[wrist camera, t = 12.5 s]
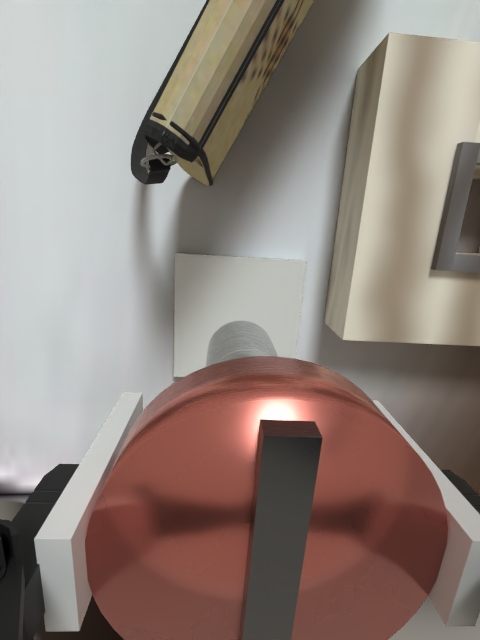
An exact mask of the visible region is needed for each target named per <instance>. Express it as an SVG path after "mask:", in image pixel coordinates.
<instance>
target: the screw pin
mask: <svg viewBox="0 0 480 640" xmlns="http://www.w3.org/2000/svg"><path fill="white" fill-rule="evenodd" d="M447 536H448V523H447V514H446V507H445V504H444V500H443V497H442V493H441V490H440V488H439V486H438V484H437V482H436V480H435V478H434V476H433V474H432V472H431V471H430V469H429V468H428V467H427V465H426V464H425V462H424V461H423V460H422V458H421V457H420V456H419V454H418V453H417V452H416V451H415V450H414V449H413V448H412V446H411V445H410V444H409V443H408V442H407V441H406V439H405V438H404V437H403V436H402V435H401V434H400V432H399V431H398V430H397V429H396V428H395V427H394V425H393V424H392V423H391V422H390V421H389V420H388V419H387V417H386V416H385V415H384V414H383V413H382V412H381V410H380V409H379V408H378V407H377V406H376V405H375V403H374V402H373V401H372V400H371V399H370V398H369V397H368V396H367V395H366V394H365V393H364V392H363V391H362V390H361V389H360V388H358V387H357V386H356V385H354V384H353V383H352V382H350V381H349V380H348V379H346V378H344V377H342V376H341V375H339V374H337V373H335V372H333V371H332V370H329V369H327V368H324V367H322V366H319V365H316V364H314V363H311V362H306V361H302V360H298V359H294V358H286V357H278V355H277V353H276V350H275V348H274V346H273V343H272V341H271V339H270V337H269V335H268V334H267V332H266V331H265V330H264V329H263V328H262V327H260V326H259V325H257V324H255V323H252V322H249V321H233V322H230V323H227V324H225V325H223V326H222V327H220V328H219V329H218V330H217V331H216V332H215V333H214V334H213V336H212V337H211V339H210V341H209V345H208V350H207V358H206V366H205V368H202V369H200V370H197V371H195V372H192V373H191V374H189V375H187V376H185V377H183V378H182V379H180V380H178V381H176V382H175V383H173V384H172V385H171V386H169V387H168V388H167V389H165V390H164V391H163V392H161V393H160V394H159V395H158V396H157V397H156V398H155V399H154V400H153V401H152V402H151V403H150V404H149V405H148V406H146V408H145V409H144V410H143V412H142V413H141V414H140V415H139V417H138V418H137V419H136V421H135V422H134V424H133V426H132V428H131V429H130V431H129V433H128V435H127V436H126V439H125V441H124V443H123V445H122V447H121V450H120V452H119V454H118V456H117V458H116V460H115V463H114V465H113V467H112V469H111V471H110V473H109V476H108V478H107V480H106V482H105V484H104V486H103V489H102V491H101V493H100V495H99V497H98V499H97V502H96V504H95V507H94V509H93V512H92V515H91V517H90V520H89V523H88V528H87V533H86V539H85V553H86V565H87V578H88V583H89V586H90V589H91V592H92V595H93V597H94V599H95V601H96V603H97V605H98V607H99V609H100V611H101V613H102V614H103V615H104V617H105V618H106V620H107V621H108V622H109V623H110V625H111V626H112V628H113V629H114V630H115V631H116V632H117V633H118V634H119V635H120V636H121V637H122V638H123V639H124V640H388V639H389V638H390V637H391V636H392V635H393V634H395V633H396V632H397V631H398V630H399V629H401V628H402V627H403V626H404V625H405V624H406V623H407V622H408V620H409V619H410V618H411V617H412V616H413V615H414V614H415V613H416V612H417V611H418V609H419V608H420V606H421V605H422V604H423V602H424V601H425V600H426V598H427V597H428V595H429V593H430V591H431V590H432V588H433V586H434V584H435V582H436V581H437V578H438V574H439V571H440V567H441V564H442V560H443V557H444V553H445V550H446V546H447Z"/></svg>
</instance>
